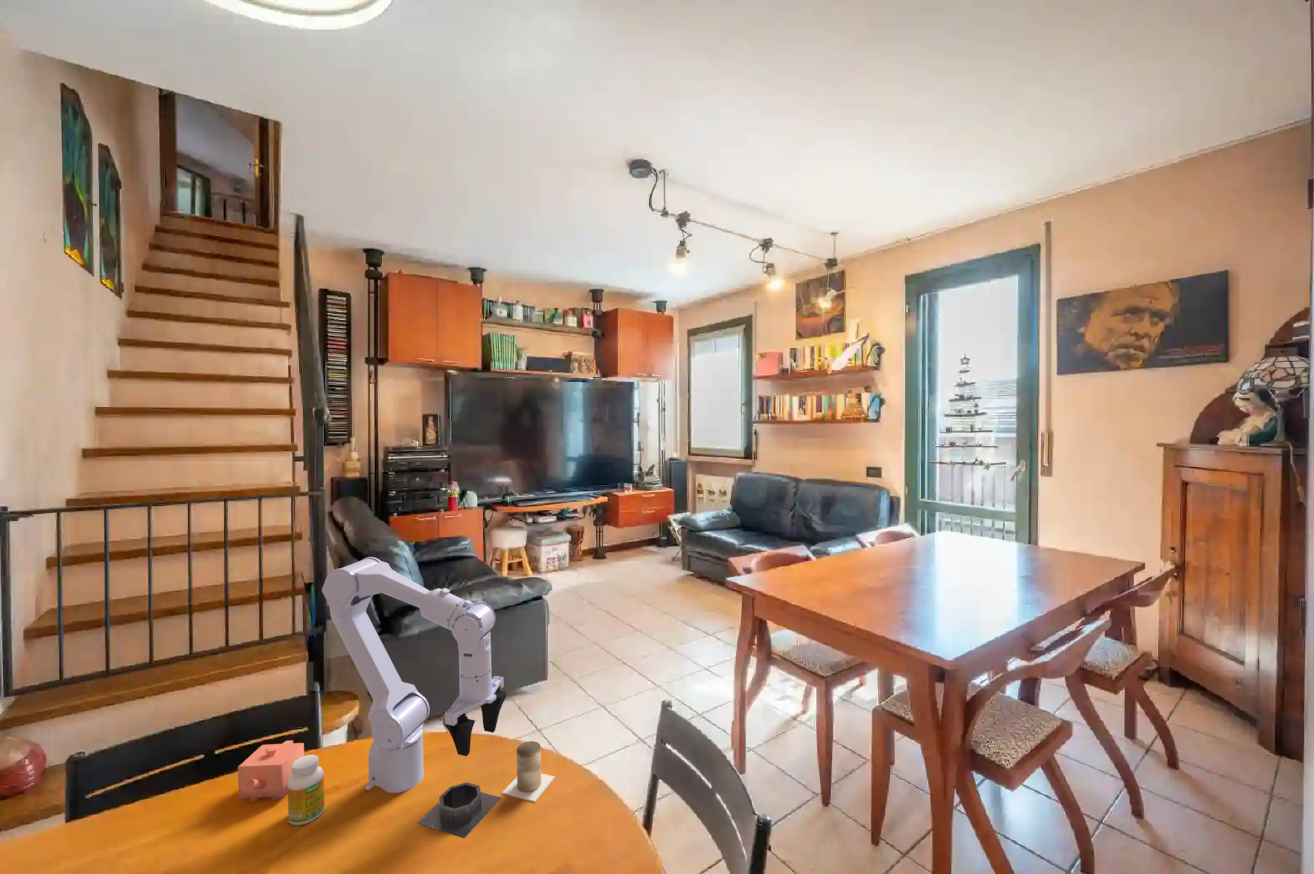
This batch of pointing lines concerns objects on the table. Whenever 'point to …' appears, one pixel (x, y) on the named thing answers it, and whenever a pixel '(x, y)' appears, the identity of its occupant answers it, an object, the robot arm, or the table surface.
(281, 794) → the pink cube teapot
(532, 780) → the tan cylinder
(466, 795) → the housing
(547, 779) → the tile pad
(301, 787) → the supplement bottle
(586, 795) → the table surface
